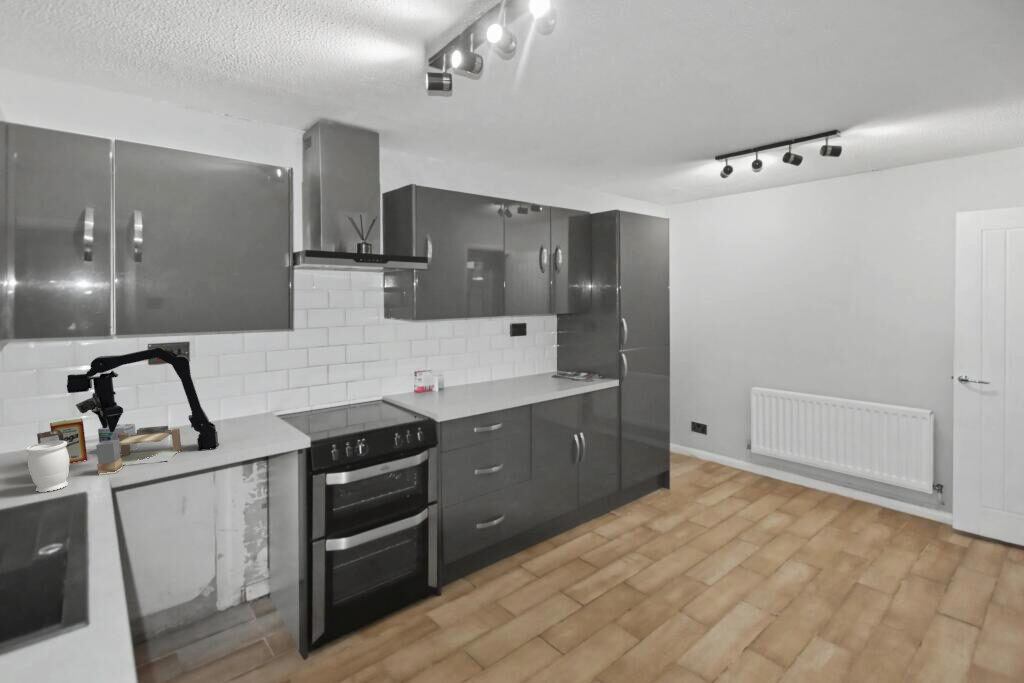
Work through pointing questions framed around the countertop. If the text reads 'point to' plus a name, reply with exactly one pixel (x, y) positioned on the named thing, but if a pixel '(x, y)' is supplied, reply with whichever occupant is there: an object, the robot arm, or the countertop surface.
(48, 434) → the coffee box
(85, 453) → the baking soda box
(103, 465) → the plinth
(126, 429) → the light bulb box
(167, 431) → the trapdoor
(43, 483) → the jar
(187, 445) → the countertop surface
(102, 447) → the basalt block
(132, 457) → the stand
